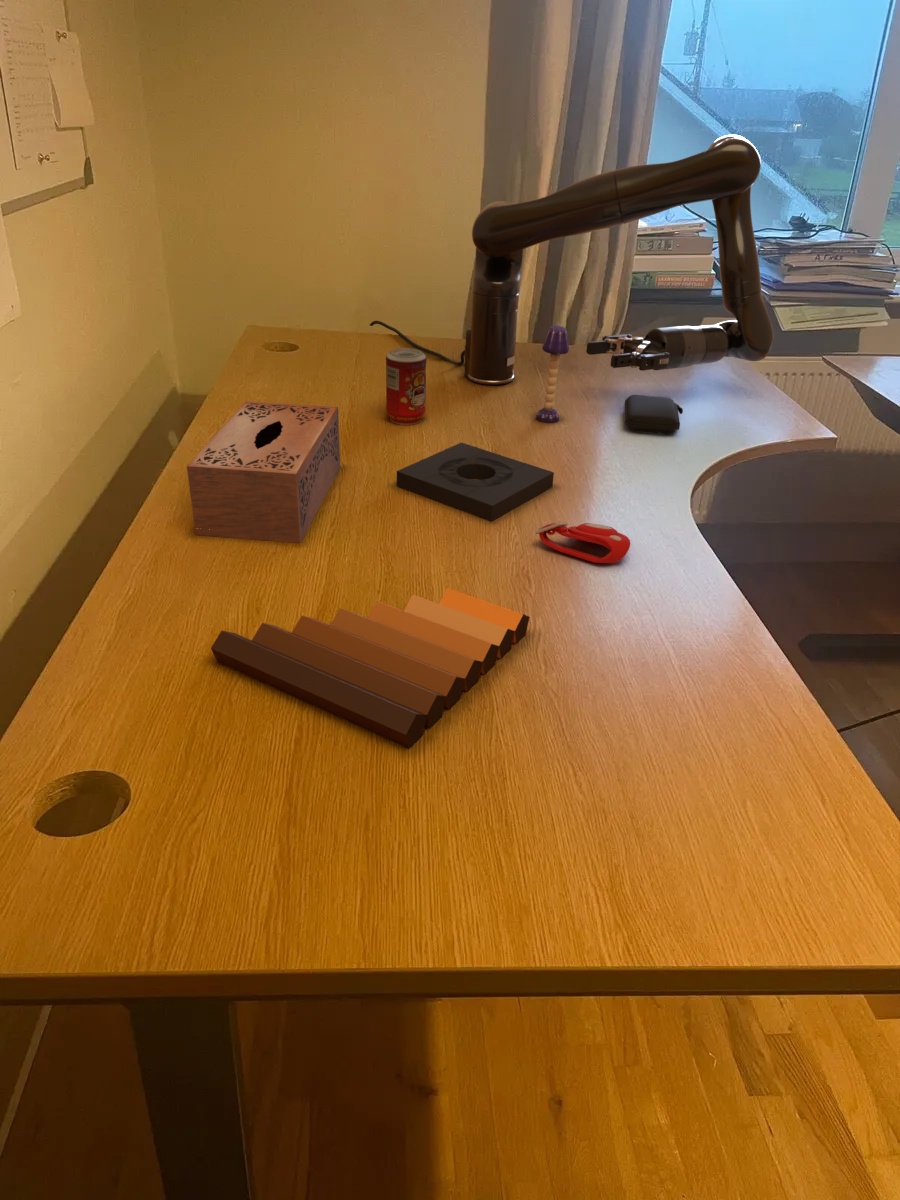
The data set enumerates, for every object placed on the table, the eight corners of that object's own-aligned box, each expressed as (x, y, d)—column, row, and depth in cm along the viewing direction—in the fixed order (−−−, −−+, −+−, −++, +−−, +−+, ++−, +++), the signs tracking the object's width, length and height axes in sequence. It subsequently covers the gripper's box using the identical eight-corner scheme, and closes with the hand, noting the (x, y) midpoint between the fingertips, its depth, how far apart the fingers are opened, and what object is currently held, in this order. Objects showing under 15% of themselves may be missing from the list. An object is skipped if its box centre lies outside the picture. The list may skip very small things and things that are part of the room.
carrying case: (684, 439, 156) (679, 411, 169) (687, 422, 155) (682, 395, 167) (623, 433, 158) (623, 406, 170) (626, 417, 156) (625, 391, 169)
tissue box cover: (251, 461, 142) (245, 400, 137) (340, 467, 141) (338, 407, 136) (195, 535, 120) (186, 466, 115) (300, 543, 119) (296, 473, 114)
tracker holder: (604, 520, 125) (649, 534, 117) (599, 551, 126) (643, 567, 118) (531, 514, 120) (573, 529, 111) (526, 546, 121) (567, 563, 112)
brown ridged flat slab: (212, 664, 95) (405, 752, 84) (209, 638, 93) (405, 724, 82) (354, 570, 113) (528, 632, 102) (354, 546, 112) (530, 607, 101)
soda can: (410, 429, 156) (410, 359, 150) (378, 420, 160) (377, 352, 153) (433, 418, 161) (434, 350, 155) (402, 410, 165) (402, 343, 158)
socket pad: (396, 486, 136) (396, 471, 134) (460, 456, 147) (461, 442, 145) (491, 521, 126) (492, 505, 125) (552, 487, 137) (554, 472, 136)
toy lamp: (565, 417, 164) (574, 326, 155) (556, 425, 160) (566, 332, 152) (540, 413, 166) (548, 322, 157) (531, 420, 162) (539, 328, 153)
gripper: (656, 317, 169) (581, 324, 164) (701, 337, 158) (623, 344, 153) (650, 357, 173) (577, 364, 168) (694, 378, 162) (617, 387, 157)
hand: (599, 355), depth 160 cm, fingers open, 8 cm apart
